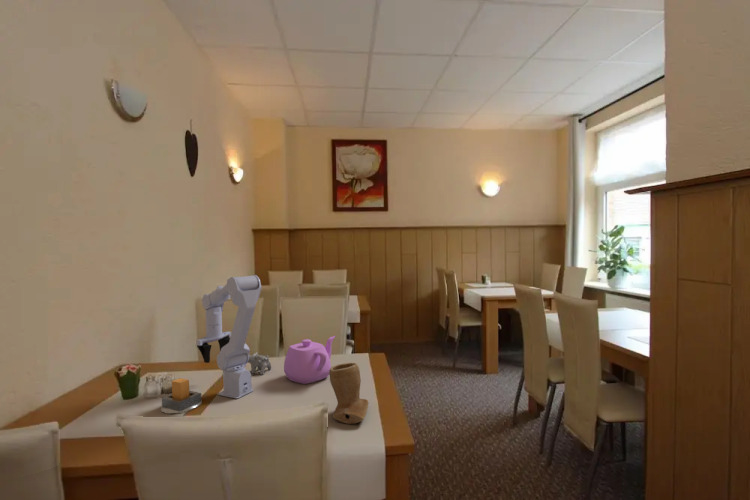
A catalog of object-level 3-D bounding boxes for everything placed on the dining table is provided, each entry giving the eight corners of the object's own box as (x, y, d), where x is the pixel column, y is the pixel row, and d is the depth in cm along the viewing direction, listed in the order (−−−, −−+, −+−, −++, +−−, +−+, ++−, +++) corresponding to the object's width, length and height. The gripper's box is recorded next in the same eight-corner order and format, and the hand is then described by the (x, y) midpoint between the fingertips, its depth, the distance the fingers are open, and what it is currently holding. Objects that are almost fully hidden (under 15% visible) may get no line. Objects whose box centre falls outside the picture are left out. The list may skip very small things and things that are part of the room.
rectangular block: (180, 401, 126) (180, 378, 126) (189, 403, 124) (188, 379, 124) (172, 405, 123) (171, 381, 123) (181, 407, 121) (180, 382, 121)
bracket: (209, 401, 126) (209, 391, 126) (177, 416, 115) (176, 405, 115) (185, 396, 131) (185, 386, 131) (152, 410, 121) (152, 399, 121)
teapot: (307, 392, 132) (306, 350, 131) (277, 378, 147) (276, 340, 147) (355, 375, 147) (354, 337, 147) (324, 364, 163) (323, 330, 162)
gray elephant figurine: (268, 376, 151) (268, 357, 151) (237, 376, 150) (238, 357, 150) (272, 368, 160) (272, 351, 160) (243, 368, 159) (244, 351, 159)
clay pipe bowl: (335, 403, 122) (334, 357, 122) (371, 404, 120) (369, 358, 120) (323, 425, 107) (321, 373, 107) (363, 426, 105) (362, 374, 105)
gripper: (221, 320, 151) (223, 353, 151) (190, 327, 138) (191, 363, 138) (234, 321, 148) (235, 355, 148) (203, 329, 135) (204, 366, 135)
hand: (215, 359), depth 143 cm, fingers open, 7 cm apart
